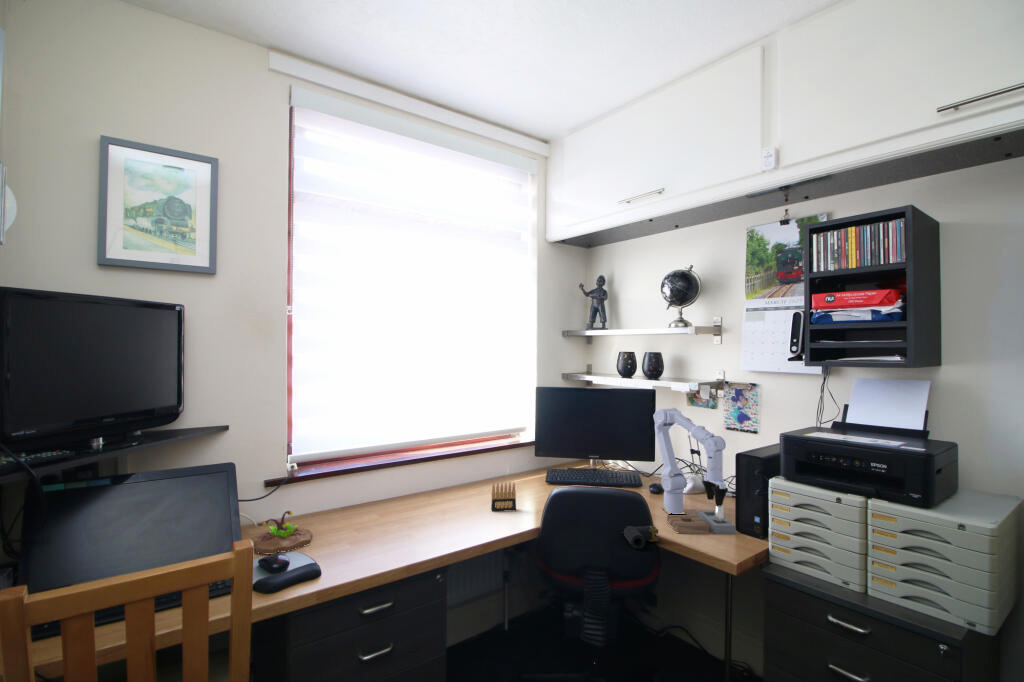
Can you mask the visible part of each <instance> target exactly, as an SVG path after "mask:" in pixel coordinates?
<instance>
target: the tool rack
mask: <svg viewBox="0 0 1024 682" xmlns="http://www.w3.org/2000/svg"><path fill="white" fill-rule="evenodd" d="M696 515H698V516H699V517H700V518H701V519H702V520H703V521H704V522H706V523H707V524H708V525H709V531H711V532H712V533H713V534H714V533H716V534H719V535H721V534H722V535H723V534H725V535H726V534H730V535H732V534H733V535H734V534H737V533H736V527H737V526H736V525H735V523H733V522H732V521H731V520H729V519H728V518H726V516H724V523H716V522H715V509H714V510H711V509H710V510H705V509H704V510H702V509H701V510H699V509H698V510H696Z"/></svg>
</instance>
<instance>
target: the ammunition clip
mask: <svg viewBox="0 0 1024 682" xmlns="http://www.w3.org/2000/svg"><path fill="white" fill-rule="evenodd" d="M511 483H512V484H511ZM495 485H496V487H495ZM491 488H492V489H491V507H490V509H491V510H492V511H491V510H490V511H491V512H505V511H504V510H515V511H517V499H516V497H517V495H516V494H517V493H516V484H515V482H514V481H513V482H510V481H509V482H508V483H507V482H505V483H504V485H503V482H501V483H500V486H499V482H496V484H495V482H493V483H492V487H491Z"/></svg>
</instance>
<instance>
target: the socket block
mask: <svg viewBox="0 0 1024 682" xmlns="http://www.w3.org/2000/svg"><path fill="white" fill-rule="evenodd" d="M666 517H667V518H666V521H668V522H669V523H670V525H671V526H672V527H673V528H674V529H675V531H676V532H680V533H679V534H707V533H710V529H709V525H708V524H707V523H706V522H704V521H703V520H702V519H701V518H700V517H699V516H698V515H697V514H687V515H668V514H667V515H666ZM670 525H669V526H670ZM671 526H670V527H671ZM672 527H671V528H672ZM673 528H672V529H673ZM674 529H673V530H674ZM675 531H674V532H675ZM676 532H675V533H676Z"/></svg>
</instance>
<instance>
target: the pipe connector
mask: <svg viewBox="0 0 1024 682" xmlns="http://www.w3.org/2000/svg"><path fill="white" fill-rule="evenodd" d="M652 526H653V527H652ZM623 533H624V535H623V536H624V537H625V539H626V540H627V541H628V542H629V544H630V545H631V547H632V548H633V549H635V550H637V549H639V550H640V549H641V550H642V549H643V548H644V547H645V546H646V545H645V544H646V542H659V536H658V535H657V534H659V529H658V528H657V527H656V526H655V525H646V526H634V527H633V526H627V527H626V528H625V529H624V532H623ZM623 533H622V534H623Z"/></svg>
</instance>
